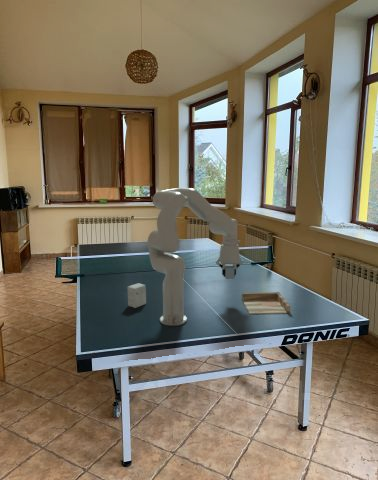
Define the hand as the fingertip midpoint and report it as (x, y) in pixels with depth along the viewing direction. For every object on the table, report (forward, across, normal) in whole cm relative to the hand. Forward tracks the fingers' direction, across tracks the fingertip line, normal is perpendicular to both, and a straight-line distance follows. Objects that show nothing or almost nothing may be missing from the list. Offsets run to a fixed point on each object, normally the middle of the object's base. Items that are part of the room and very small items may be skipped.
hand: (229, 275), depth 199 cm
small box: (+15, +48, +4) cm, 51 cm away
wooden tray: (+14, -18, +10) cm, 24 cm away
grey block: (+1, 0, 0) cm, 1 cm away
